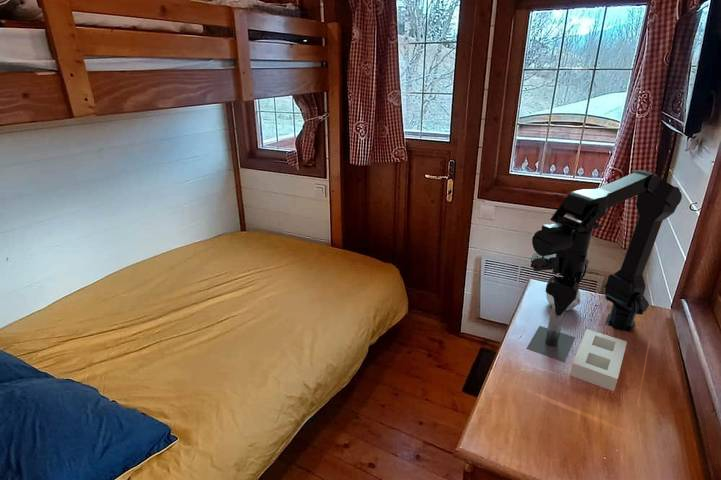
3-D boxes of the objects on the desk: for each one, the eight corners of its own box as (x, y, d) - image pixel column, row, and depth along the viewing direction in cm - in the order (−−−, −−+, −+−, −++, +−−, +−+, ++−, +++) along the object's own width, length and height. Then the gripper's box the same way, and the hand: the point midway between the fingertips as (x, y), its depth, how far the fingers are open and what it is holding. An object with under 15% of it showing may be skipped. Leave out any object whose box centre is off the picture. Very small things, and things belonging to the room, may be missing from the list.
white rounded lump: (541, 312, 124) (547, 281, 120) (546, 297, 132) (552, 268, 128) (575, 321, 120) (583, 290, 116) (579, 305, 128) (586, 275, 124)
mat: (539, 327, 118) (539, 325, 117) (575, 339, 113) (575, 337, 113) (525, 350, 109) (526, 348, 108) (564, 364, 104) (564, 362, 104)
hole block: (583, 342, 112) (586, 329, 110) (623, 354, 107) (627, 341, 105) (569, 376, 100) (572, 363, 98) (613, 393, 95) (617, 379, 93)
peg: (546, 337, 112) (553, 304, 108) (559, 341, 111) (566, 308, 107) (543, 343, 110) (550, 310, 106) (556, 348, 109) (563, 314, 105)
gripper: (546, 227, 110) (536, 281, 117) (527, 254, 96) (517, 314, 102) (594, 236, 105) (582, 292, 111) (582, 266, 90) (568, 329, 97)
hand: (561, 305), depth 105 cm, fingers open, 9 cm apart
